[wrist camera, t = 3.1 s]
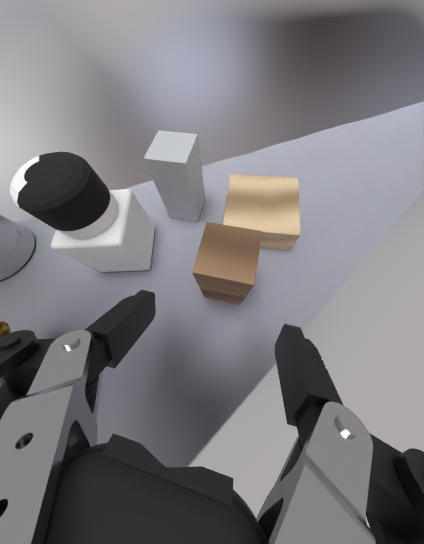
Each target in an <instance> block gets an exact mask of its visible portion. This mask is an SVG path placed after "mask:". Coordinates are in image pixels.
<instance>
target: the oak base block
mask: <svg viewBox="0 0 424 544" xmlns="http://www.w3.org/2000/svg"><path fill="white" fill-rule="evenodd" d="M223 225H228V226H234V227H240V228H247V229H253V230H259V231H262V236H261V242H260V248H268V249H277V250H286V251H288V250H289V248H290V247H291V246H292V245H293V244H294V243H295V241H296V240H297V239H298V238H299V237H300V213H299V189H298V178H290V177H273V176H257V175H240V174H231V176H230V183H229V189H228V196H227V202H226V209H225V215H224V221H223Z"/></svg>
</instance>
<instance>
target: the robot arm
mask: <svg viewBox="0 0 424 544" xmlns="http://www.w3.org/2000/svg"><path fill="white" fill-rule="evenodd" d="M34 246H35V238H34V236H33V234H32V233H31V231H29V230H28V229H26V228H24V227H22V226H20V225H18V224H16V223H15V222H13V221H11V220H9V219H7V218H5V217H3V216H1V215H0V280H3V279H5V278H7V277H9V276H11V275H12V274H14V273H15V272H17V271H18V270H19V269H20V268H21V267H22V266H23V265H24V264H25V263H26V262H27V261H28V259H29V258H30V256H31V254H32V252H33V250H34ZM154 316H155V294H154V293H153V292H149V291H145V290H141V291H139V292H138V293H137V294H136V295H134V296H130V297H128V298H125V299H123V300H122V301H120V302H119V303H118V304H117V305H116V306H114V307H113V308H112V309H110V311H108V312H107V313H105V314H104V315H103V316H102V317H100V318H99V319H98V320H97V321H95V322H94V323H93V324H92V325H90V326H89V327H88V328H87V329H85V330H75V331H71V332H68V333H66V334H64V335H62V336H60V337H59V338H57V339H37V338H36V336H35V334H34V332H32V331H30V330H21V331H16V332H12V333H9V334H6V335H4V336H1V337H0V380H1V381H2V382H3V384H4V385H2V386H1V387H0V544H424V452H423V451H421V450H418V449H412V448H411V449H408V450H406V451H405V452H403V453H401V452H400V451H398V450H396V449H394V448H393V447H391V446H389V445H388V444H386V443H384V442H383V441H381V440H380V439H378V438H376V437H375V436H373V435H371V434H370V433H369V432H368V430H367V429H366V427H365V426H364V424H363V423H362V422H361V420H360V419H359V418H358V417H357V416H356V415H355V414H354V413H353V412H352V411H351V410H349V409H348V408H346V407H345V406H344V405H343V403H342V401H341V399H340V397H339V395H338V393H337V390H336V388H335V386H334V384H333V382H332V380H331V378H330V376H329V373H328V371H327V369H326V368H325V365H324V363H323V360H321V356H320V354H319V352H318V350H317V348H316V347H315V346H314V344H313V343H312V342H311V341H310V340H309V339H305V338H304V335H303V333H302V330H301V328H300V327H296V326H292V325H287V324H284V326H283V328H282V330H281V332H280V335H279V337H278V339H277V341H276V345H275V357H276V362H277V367H278V374H279V379H280V384H281V391H282V396H283V402H284V407H285V413H286V419H287V424H289V425H293V426H296V427H297V429H298V434H299V436H298V437H297V439H296V441H295V443H294V446H293V448H292V450H291V452H290V454H289V456H288V458H287V460H286V462H285V464H284V467H283V469H282V471H281V473H280V475H279V477H278V479H277V481H276V483H275V485H274V487H273V488H272V490H271V491H270V493H269V495H268V496H267V498H266V500H265V502H264V504H263V506H262V508H261V510H260V512H259V514H258V516H257V519H256V518H255V516H254V514H253V513H252V511H251V510H250V508H249V507H248V506H247V504H246V503H245V501H244V500H243V499H242V498H241V497H240V496H239V495H238V494H237V493H236V492H235V491H234V490H233V478H231V477H228V476H225V475H223V474H220V473H217V472H215V471H212V470H210V469H206V468H204V467H177V468H167V467H165V466H164V465H163V464H161V463H160V462H159V461H158V460H157V459H156V458H155V457H154V456H153V455H152V454H151V453H150V452H149V451H148V450H147V449H146V448H145V447H144V446H143V445H141V444H140V443H138V442H135V441H132V440H130V439H127V438H124V437H122V436H119V435H116V434H114V433H113V435H112V437H111V438H110V440H109V442H108V443H103V444H98V445H97V410H98V402H99V394H100V387H101V379H102V371H103V370H104V368H105V367H106V366H108V367H111V368H115V367H116V366H117V365H118V364H119V362H120V361H121V360H122V359H123V357H124V356H125V355H126V354H127V352H128V351H129V350H130V349H131V347H132V346H133V345H134V343H135V342H136V341H137V340H138V338H139V337H140V336H141V335H142V333H143V332H144V331H145V330H146V328H147V327H148V326H149V325H150V323H151V322H152V321H153V319H154ZM365 516H366V517H367V520H368V523H369V526H370V528H369V527H368V526H367V524H366V518H365Z"/></svg>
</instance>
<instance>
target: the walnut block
mask: <svg viewBox="0 0 424 544" xmlns="http://www.w3.org/2000/svg"><path fill="white" fill-rule="evenodd" d="M261 236H262V231H259V230H253V229H247V228H240V227H234V226H228V225H222V224H216V223H210V222H207V223H206V227H205V230H204V234H203V237H202V240H201V244H200V247H199V251H198V254H197V258H196V261H195V264H194V268H193V271H192V273H193V275H194V277H195V279H196V281H197V283H198V285H199V287H200V289H201V291H202V293H203V295H204V297H209V298H213V299H218V300H222V301H227V302H231V303H235V304H240V303H241V302H242V300H243V299H244V298H245V296H246V295H247V294H248V293H249V291H250V290H251V289H252V287H253V286H254V283H255V276H256V269H257V263H258V256H259V249H260V242H261Z"/></svg>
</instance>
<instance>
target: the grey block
mask: <svg viewBox="0 0 424 544" xmlns="http://www.w3.org/2000/svg"><path fill="white" fill-rule="evenodd" d="M144 160H145V163H146V165H147V167H148V169H149V171H150V173H151V176H152V178H153V180H154V183H155V185H156V187H157V189H158V192H159V194H160V196H161V198H162V200H163V203H164V205H165V207H166V209H167V212H168V214H169V216H170V218H177V219H183V220H189V221H195V222H198V220H199V217H200V214H201V211H202V208H203V204H204V201H205V194H204V185H203V177H202V168H201V160H200V151H199V144H198V135H197V134H189V133H178V132H168V131H158V133H157V134H156V136H155V138H154V140H153V142H152V144H151V146H150V148H149V149H148V151H147V153H146V155H145V157H144Z"/></svg>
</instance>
